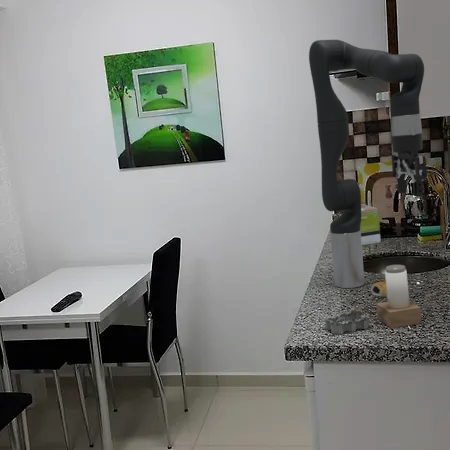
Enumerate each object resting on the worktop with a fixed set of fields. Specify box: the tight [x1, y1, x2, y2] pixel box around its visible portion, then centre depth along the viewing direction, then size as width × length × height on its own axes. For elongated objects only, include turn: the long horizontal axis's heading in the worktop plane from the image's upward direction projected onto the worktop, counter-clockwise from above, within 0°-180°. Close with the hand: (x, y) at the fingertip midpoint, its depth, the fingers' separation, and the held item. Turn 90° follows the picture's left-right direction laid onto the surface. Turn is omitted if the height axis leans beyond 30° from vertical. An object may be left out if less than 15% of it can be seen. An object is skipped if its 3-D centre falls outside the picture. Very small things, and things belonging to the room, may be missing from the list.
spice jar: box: [384, 264, 410, 309], centre depth 147 cm, size 5×5×10 cm
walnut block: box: [376, 300, 422, 329], centre depth 148 cm, size 8×8×4 cm
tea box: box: [342, 203, 382, 246], centre depth 248 cm, size 15×10×15 cm, turn 10°
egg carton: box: [322, 306, 372, 335], centre depth 147 cm, size 11×8×4 cm
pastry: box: [370, 280, 387, 298], centre depth 172 cm, size 9×7×4 cm
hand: (410, 194), depth 155 cm, fingers open, 8 cm apart
